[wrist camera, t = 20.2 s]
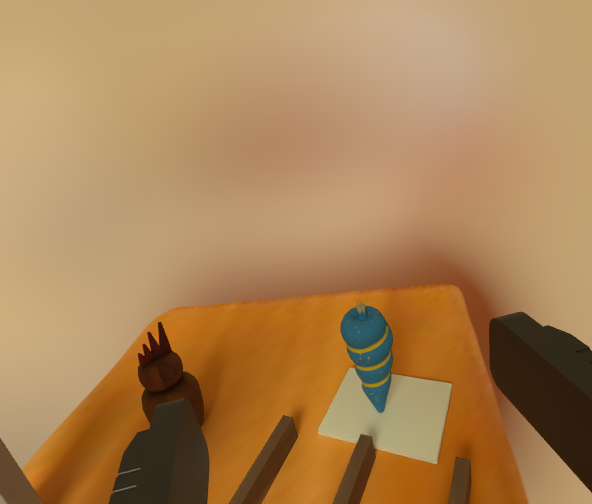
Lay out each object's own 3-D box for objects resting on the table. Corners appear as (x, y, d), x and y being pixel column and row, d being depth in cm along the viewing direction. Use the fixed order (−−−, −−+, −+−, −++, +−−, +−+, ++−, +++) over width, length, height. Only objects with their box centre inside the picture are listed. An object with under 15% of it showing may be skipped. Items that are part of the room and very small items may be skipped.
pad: (318, 434, 47) (317, 430, 47) (350, 370, 55) (349, 367, 55) (437, 464, 41) (436, 460, 40) (452, 387, 49) (452, 383, 49)
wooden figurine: (206, 403, 55) (172, 309, 49) (214, 432, 50) (176, 331, 44) (156, 424, 53) (114, 329, 48) (159, 457, 48) (112, 355, 43)
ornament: (381, 436, 44) (361, 322, 38) (348, 412, 48) (325, 305, 42) (411, 408, 47) (397, 296, 41) (377, 387, 51) (360, 283, 45)
